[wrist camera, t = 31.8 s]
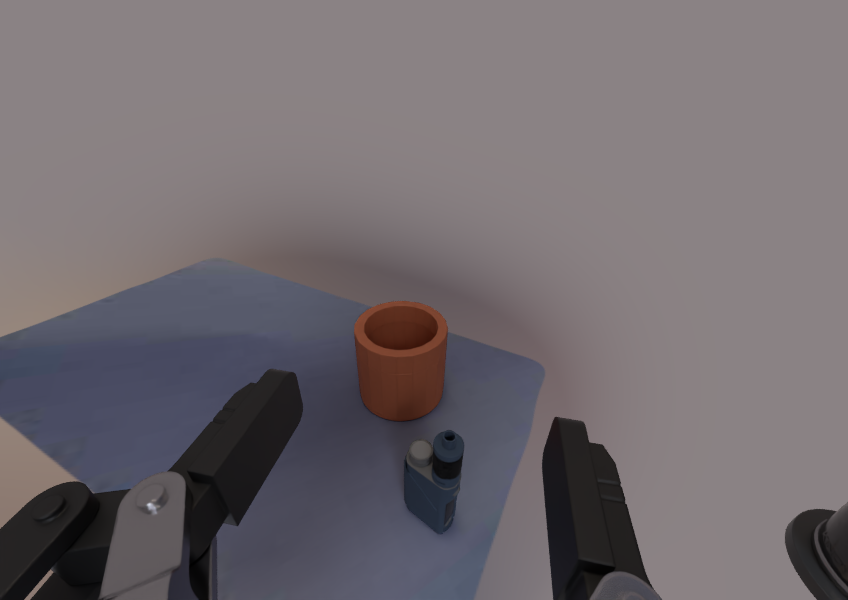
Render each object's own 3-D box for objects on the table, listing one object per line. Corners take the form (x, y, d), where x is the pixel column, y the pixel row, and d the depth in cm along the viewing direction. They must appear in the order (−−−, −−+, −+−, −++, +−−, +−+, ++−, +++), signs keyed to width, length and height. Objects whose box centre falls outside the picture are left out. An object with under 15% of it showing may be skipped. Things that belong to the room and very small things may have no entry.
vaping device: (444, 541, 32) (453, 457, 25) (399, 503, 34) (397, 419, 28) (460, 517, 34) (473, 433, 27) (416, 483, 36) (418, 399, 30)
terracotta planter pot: (448, 366, 51) (452, 306, 45) (435, 428, 42) (439, 363, 36) (375, 355, 52) (371, 296, 47) (348, 412, 43) (339, 348, 38)
